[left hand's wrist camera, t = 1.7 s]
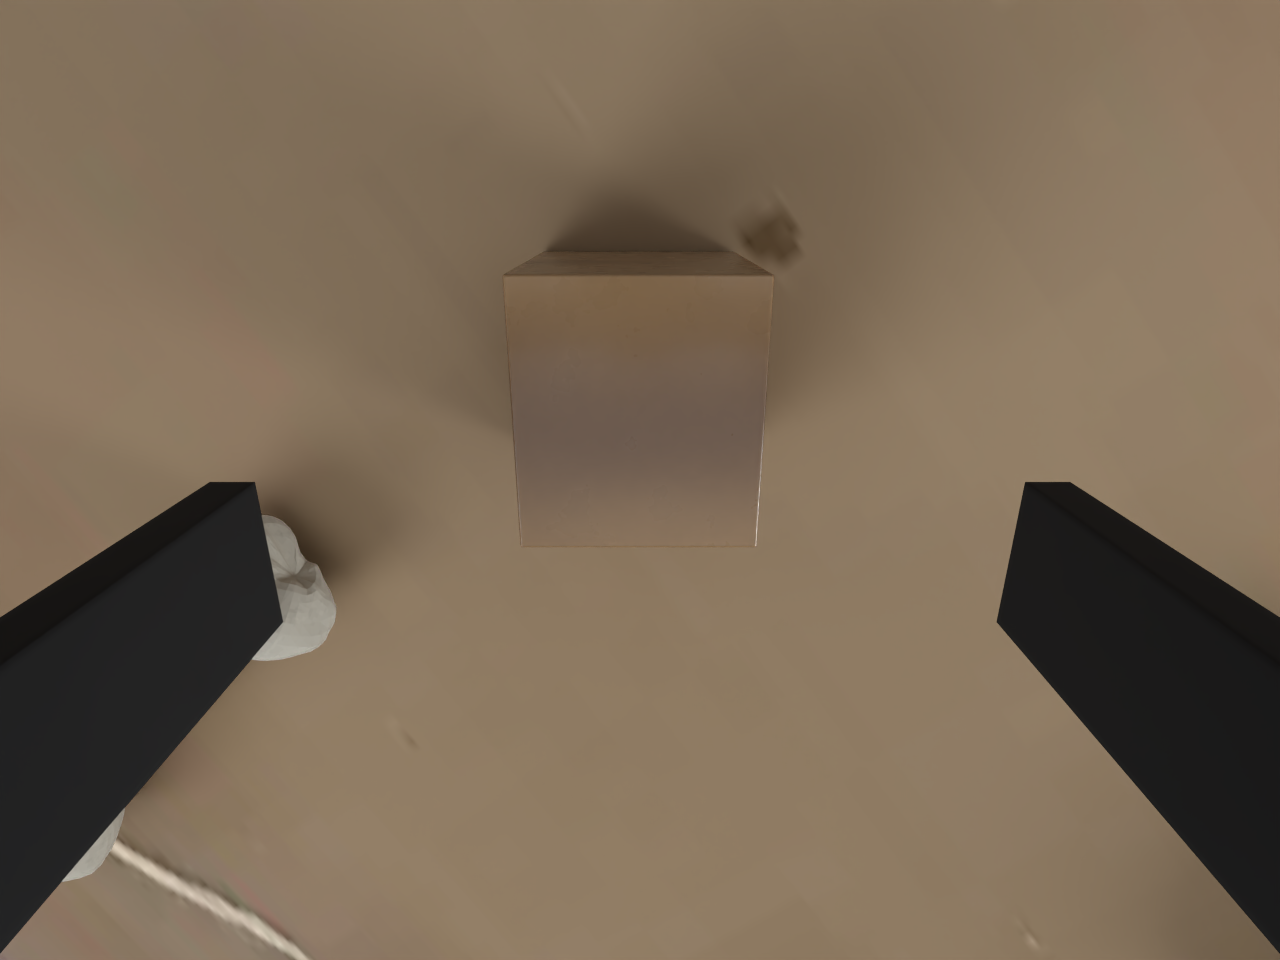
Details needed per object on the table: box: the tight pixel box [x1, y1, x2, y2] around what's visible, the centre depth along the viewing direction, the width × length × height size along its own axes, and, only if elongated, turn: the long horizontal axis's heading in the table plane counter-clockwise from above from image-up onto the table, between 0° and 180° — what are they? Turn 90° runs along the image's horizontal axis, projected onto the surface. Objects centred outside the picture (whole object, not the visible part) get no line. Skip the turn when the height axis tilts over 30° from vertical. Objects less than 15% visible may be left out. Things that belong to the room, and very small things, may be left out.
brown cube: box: [503, 252, 774, 547], centre depth 23 cm, size 8×7×8 cm
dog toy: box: [62, 515, 336, 882], centre depth 29 cm, size 20×6×5 cm, turn 134°
